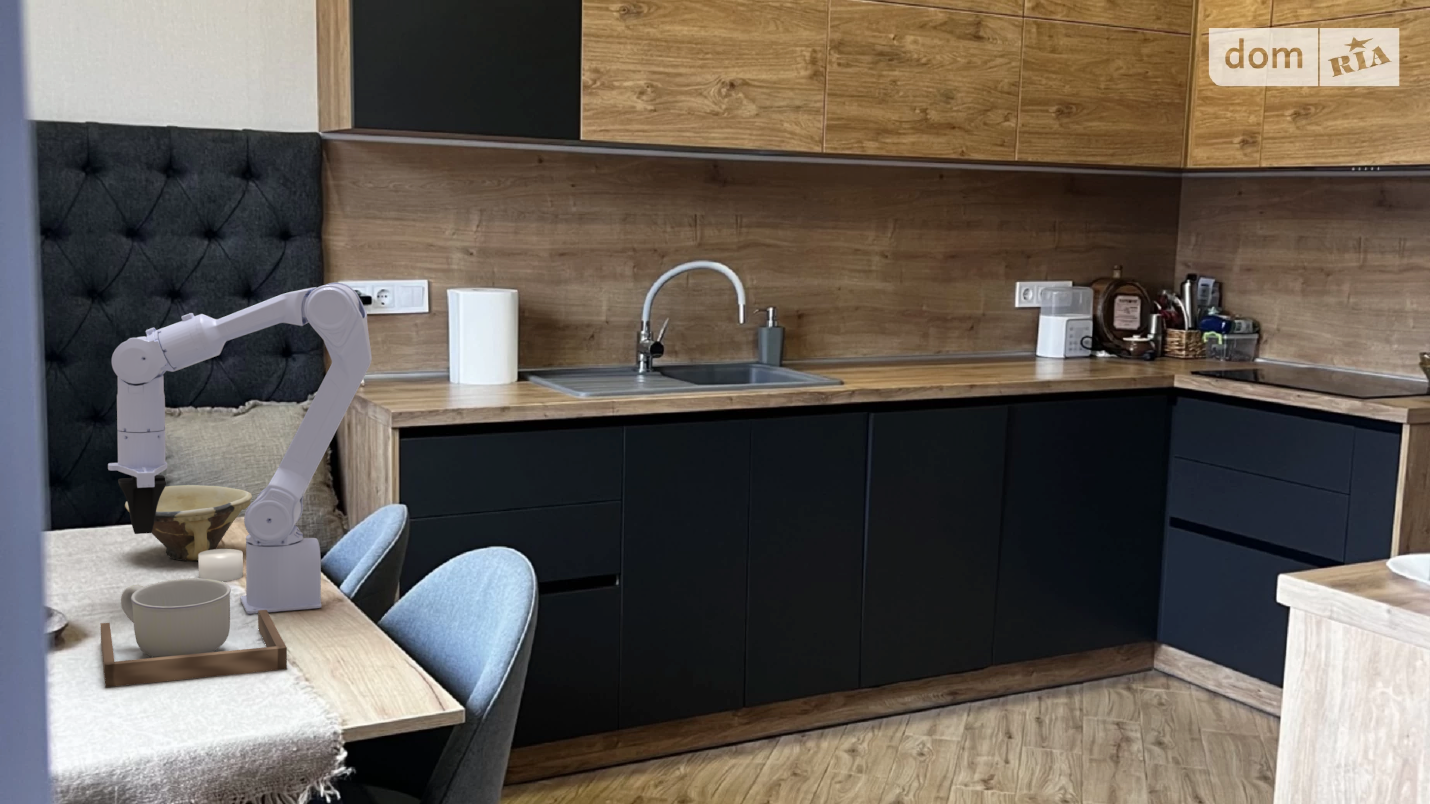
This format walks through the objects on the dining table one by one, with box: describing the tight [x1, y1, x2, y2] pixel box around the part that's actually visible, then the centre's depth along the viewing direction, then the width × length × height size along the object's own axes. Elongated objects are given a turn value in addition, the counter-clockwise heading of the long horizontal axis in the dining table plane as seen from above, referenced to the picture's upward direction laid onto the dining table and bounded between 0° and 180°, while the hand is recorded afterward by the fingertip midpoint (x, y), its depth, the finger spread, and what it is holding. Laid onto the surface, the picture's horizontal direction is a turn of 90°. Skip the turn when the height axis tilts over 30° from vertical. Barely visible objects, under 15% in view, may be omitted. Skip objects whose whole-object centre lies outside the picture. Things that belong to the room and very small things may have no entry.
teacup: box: [120, 577, 231, 658], centre depth 159 cm, size 14×11×8 cm
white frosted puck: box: [197, 548, 244, 583], centre depth 195 cm, size 6×6×4 cm
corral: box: [100, 610, 288, 688], centre depth 159 cm, size 19×17×2 cm
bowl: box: [124, 484, 253, 562], centre depth 206 cm, size 18×18×10 cm
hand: (142, 532), depth 178 cm, fingers closed
